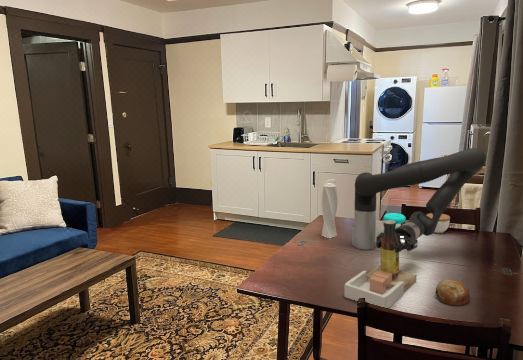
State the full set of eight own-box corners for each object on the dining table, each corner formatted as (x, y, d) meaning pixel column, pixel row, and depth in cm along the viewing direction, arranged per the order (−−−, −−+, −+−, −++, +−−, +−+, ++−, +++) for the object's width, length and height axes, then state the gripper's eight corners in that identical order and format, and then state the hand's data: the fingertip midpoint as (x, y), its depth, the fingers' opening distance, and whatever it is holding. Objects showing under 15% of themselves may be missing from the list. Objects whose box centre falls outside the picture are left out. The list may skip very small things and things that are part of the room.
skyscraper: (328, 233, 193) (328, 178, 187) (340, 236, 187) (341, 180, 182) (318, 237, 188) (318, 180, 182) (330, 240, 182) (331, 182, 177)
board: (364, 282, 140) (364, 275, 139) (379, 271, 148) (379, 265, 148) (402, 294, 130) (402, 287, 130) (416, 281, 139) (416, 275, 138)
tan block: (374, 282, 134) (374, 274, 133) (379, 277, 137) (379, 270, 136) (386, 286, 131) (386, 278, 130) (392, 281, 134) (392, 273, 134)
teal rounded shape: (381, 212, 190) (401, 212, 190) (380, 232, 192) (400, 231, 192) (387, 218, 180) (409, 217, 180) (386, 238, 182) (408, 238, 182)
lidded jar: (449, 228, 193) (450, 210, 191) (449, 235, 184) (450, 216, 182) (425, 226, 198) (426, 209, 196) (424, 233, 188) (425, 214, 186)
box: (343, 296, 130) (343, 284, 129) (363, 282, 140) (363, 270, 139) (384, 311, 120) (385, 298, 119) (403, 294, 130) (403, 282, 129)
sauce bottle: (400, 279, 134) (401, 225, 129) (381, 278, 135) (381, 225, 130) (397, 269, 140) (398, 218, 135) (379, 269, 141) (379, 218, 136)
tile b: (373, 287, 134) (369, 290, 132) (373, 275, 133) (369, 278, 131) (386, 291, 131) (382, 294, 129) (386, 278, 130) (382, 282, 128)
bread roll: (433, 301, 132) (425, 282, 130) (460, 287, 132) (452, 268, 130) (450, 317, 122) (441, 296, 121) (479, 302, 122) (470, 281, 121)
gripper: (388, 221, 149) (367, 233, 137) (426, 228, 140) (407, 241, 128) (387, 239, 151) (367, 253, 139) (425, 248, 141) (407, 263, 129)
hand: (386, 247), depth 133 cm, fingers closed on sauce bottle, 6 cm apart
